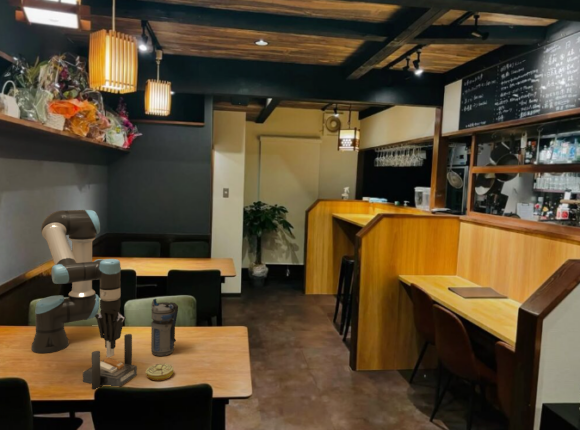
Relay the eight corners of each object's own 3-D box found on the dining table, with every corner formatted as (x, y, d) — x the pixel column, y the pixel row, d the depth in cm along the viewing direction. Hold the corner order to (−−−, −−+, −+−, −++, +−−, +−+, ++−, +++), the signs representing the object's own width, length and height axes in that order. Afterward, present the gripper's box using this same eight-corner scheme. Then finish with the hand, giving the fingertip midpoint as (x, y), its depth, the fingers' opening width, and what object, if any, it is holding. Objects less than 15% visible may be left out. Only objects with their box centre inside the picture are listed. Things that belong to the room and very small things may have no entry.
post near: (89, 388, 160) (89, 353, 159) (95, 385, 163) (95, 350, 162) (96, 390, 159) (96, 354, 158) (102, 386, 162) (101, 351, 161)
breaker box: (82, 381, 165) (82, 369, 165) (104, 368, 177) (104, 357, 176) (117, 388, 161) (117, 376, 160) (137, 375, 172) (137, 363, 172)
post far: (122, 367, 178) (122, 336, 177) (127, 365, 181) (127, 333, 180) (128, 369, 177) (128, 337, 176) (133, 366, 180) (133, 334, 179)
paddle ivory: (96, 366, 166) (96, 363, 166) (101, 363, 169) (101, 361, 169) (112, 373, 164) (112, 370, 164) (116, 370, 167) (117, 367, 167)
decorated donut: (156, 368, 179) (156, 360, 179) (178, 373, 176) (178, 364, 176) (140, 379, 169) (140, 370, 169) (163, 384, 166) (163, 374, 166)
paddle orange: (103, 362, 170) (104, 359, 170) (108, 359, 173) (108, 357, 172) (118, 369, 168) (119, 366, 168) (123, 366, 171) (124, 363, 170)
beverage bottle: (170, 359, 188) (171, 305, 186) (145, 354, 192) (145, 301, 190) (182, 350, 198) (183, 299, 196) (158, 346, 202) (158, 296, 199)
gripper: (89, 299, 164) (90, 357, 166) (117, 302, 161) (117, 362, 163) (103, 294, 171) (103, 349, 173) (130, 297, 168) (130, 354, 170)
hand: (110, 355), depth 168 cm, fingers closed
